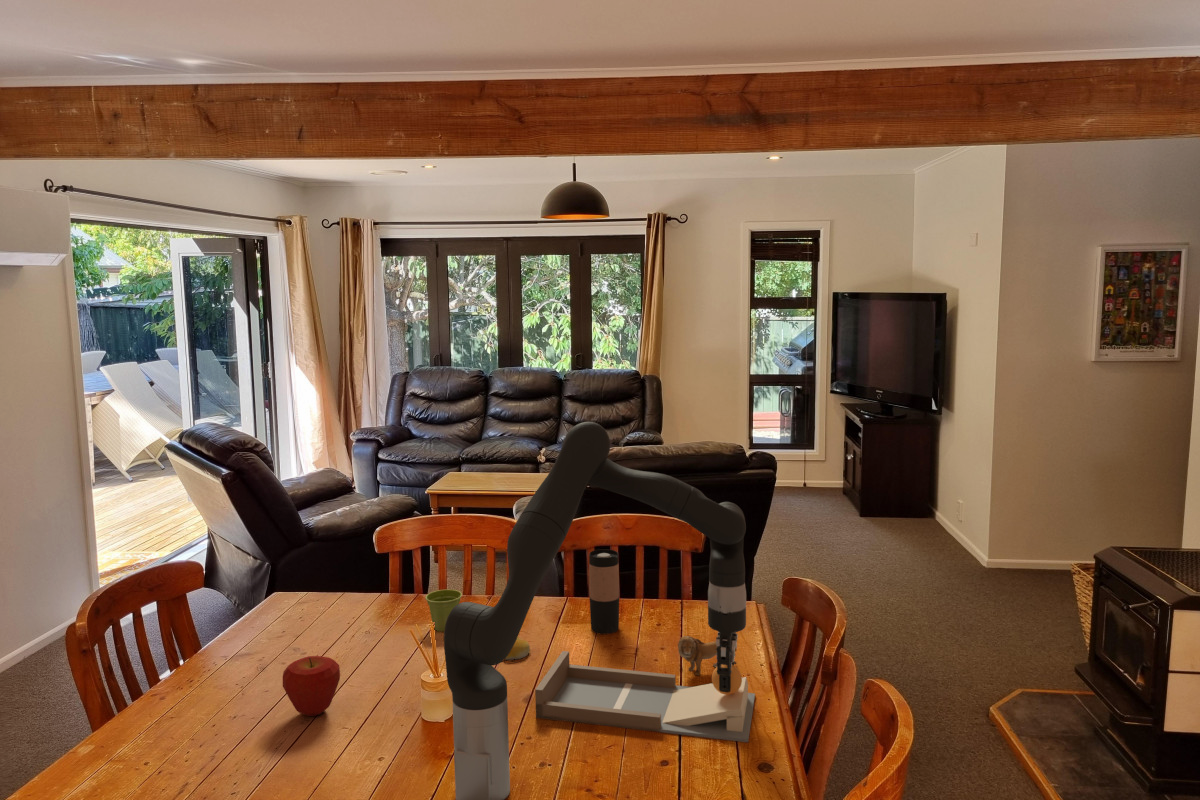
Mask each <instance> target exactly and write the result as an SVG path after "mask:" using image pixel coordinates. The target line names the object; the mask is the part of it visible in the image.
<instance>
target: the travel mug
mask: <svg viewBox="0 0 1200 800" xmlns="http://www.w3.org/2000/svg"><path fill="white" fill-rule="evenodd" d="M588 558H589V559H588V560H589V561H588V563H589V566H588V567H589V568H588V569H589V571H588V572H589V573H588V574H589V575H588V576H589V577H588V578H589V581H588V582H589V587H588V588H589V589H588V590H589V614H590V629H592V630H593V631H594V633H595V632H596V633H595V634H598V633H600V634H601V635H609V634H614V633H616V632H618V631H619V627H620V626H619V625H620V575H619V573H620V570H619V568H620V567H619V565H620V564H619V562H620V561H619V552H618V551H616V550H614V549H611V548H610V549H607V548H604V549H603V548H602V549H595V550H591V551H590V552H589V555H588ZM592 630H591V631H592ZM617 630H618V631H617ZM593 631H592V632H593ZM600 634H599V635H600Z"/></svg>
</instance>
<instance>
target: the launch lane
mask: <svg viewBox="0 0 1200 800" xmlns="http://www.w3.org/2000/svg"><path fill="white" fill-rule="evenodd" d="M676 683H677V682H676V674H672V673H661V672H660V673H659V672H651V671H650V672H649V671H642V670H641V671H640V670H633V669H621V668H620V669H619V668H612V667H611V668H610V667H601V666H600V667H599V666H589V665H579V664H572V663H571V664H570V651H568V650H567V651H566V650H562V651H561V653H560V654H559V655H558V657H557V658H556V660H555V661H554V663H552V666H551V667H550V668H549V669H548V671H547V672H546V674H545V675H544V677H543V678H542V679H541V681H540V683H539V684H538V685H537V686H536V687H535V691H534V692H535V693H534V696H535V719H545V720H552V721H553V720H554V721H561V722H571V723H578V724H579V723H580V724H588V725H595V726H596V725H597V726H604V727H611V728H612V727H615V728H621V729H622V728H623V729H630V730H639V731H646V732H647V731H648V732H656V733H665V734H672V735H680V736H681V735H682V736H690V737H691V736H692V737H698V738H709V739H715V740H725V741H733V742H741V743H749V739H750V732H751V726H752V718H753V712H754V705H755V700H756V698H755V697H756V693H754V692H749V682H748V678H747V677H746V676H744V677H743V676H742V683H741V686H740V688H739V690H738V691H737V692H735V693H733V694H730V695H725V694H722V693H720V692H718V691H717V690H716V689H715V687H714V685H713V683H706V684H701V685H697V686H686V685H677V684H676Z"/></svg>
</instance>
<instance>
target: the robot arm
mask: <svg viewBox="0 0 1200 800" xmlns="http://www.w3.org/2000/svg"><path fill="white" fill-rule="evenodd" d="M610 450H611V440H610V437H609V434H608V432H607V430H606V429H605V428H604V427H603V426H602V425H600V424H599V423H597V422H594V421H584V422H580V423H577V424H576V425H574V426H573V427H572V428H570V430H569V431H568V432H567V433H566V435H565V438H564V439H563V442H562V445H561V448H560V450H559V453H558V455H557V458H556V459H555V461H554V464H553V466H552V467H551V469H550V471H549V473H548V474H547V476H546V477H545V478H544V480H543V481H542V483H541V484H540V485H539V486H538V488H537V490H536V491H535V493H534V494H533V496H532V497H531V498H530V500H529V501H528V504H527V505H526V506H525V507H524V509H523V510H522V512H521V514H520V515H519V517H518V519H517V521H516V523H514V526H513V527H512V529H511V531H510V534H509V536H508V539H507V545H506V546H507V547H506V548H507V549H506V551H507V555H506V556H507V565H508V566H507V567H508V579H507V583H506V585H505V588H504V591H503V592H502V594H501V596H500V598H499V600H498V602H497V603H496V604H495V605H494V606H491V605H486V604H482V603H477V602H472V601H464V602H459V604H458V605H456V606H455V607H454V608H453V609H452V610H451V612H450V614H449V616H448V618H447V621H446V624H445V630H444V631H443V647H444V648H443V649H444V658H445V670H446V680H447V685H448V687H449V690H450V691H451V694H452V695H451V696H452V723H453V747H454V749H453V750H454V752H453V753H454V754H453V760H454V761H453V762H454V785H455V787H454V789H455V800H505V799H507V798H508V796H509V795H510V792H511V783H510V782H511V776H510V748H509V747H510V746H509V745H510V742H509V741H510V740H509V718H508V717H509V715H508V714H509V709H508V708H509V707H508V706H509V705H508V703H509V702H508V683H507V680H506V677H505V676H504V675H503V674H502V673H501V672H499V670H497V669H496V668H495V667H494V666H497V665H499V664H501V663H503V661H504V659H505V658H506V657H507V656H508V654H509V653H510V651H511V649H512V648H513V646H514V644H515V642H516V639H517V637H519V635H520V632H521V630H522V627H523V626H524V622H525V620H526V617H527V615H528V612H529V611H530V608H531V605H532V603H533V601H534V598H535V597H536V594H537V592H538V590H539V587H540V586H541V583H542V581H543V580H544V578H545V575H546V574H547V572H548V570H549V568H550V566H551V564H552V563H553V561H554V559H555V557H556V555H557V554H558V552H559V550H560V548H561V547H562V545H563V543H564V541H565V539H566V536H567V534H568V532H569V531H570V528H571V525H572V523H573V522H574V521H573V520H574V519H575V515H576V513H577V511H578V508H579V505H580V501H581V499H582V496H583V494H584V491H585V489H586V487H587V485H590V486H593V487H597V488H600V489H604V490H606V491H609V492H611V493H612V492H613V493H615V494H619V495H621V496H625V497H628V498H630V499H633V500H636V501H638V502H641V503H644V504H646V505H649V506H651V507H653V508H655V509H656V510H659V511H661V512H663V513H666V514H667V515H669V516H672V517H674V518H675V519H678V520H679V521H682V522H684V523H687V524H688V525H690V526H691V527H692V528H694V529H695V530H696V531H698V532H699V533H701V534H703V535H704V536H706V537H707V538H708V539H709V546H710V555H709V566H708V568H709V569H708V571H709V572H708V573H709V577H708V578H709V579H708V583H709V584H708V589H707V625H708V627H710V629H711V630H712V631H713V630H714V631H716V632H717V636H716V639H715V641H716V645H717V649H716V650H717V656H716V663H717V675H719V690H720V691H721V692H730V690H731V673H732V670H731V665H734V666H735V664H734V661H735V657H736V652H737V648H738V637H739V636H738V635H739V634H738V632H741V631H743V630H745V628H746V626H747V588H746V564H745V556H744V541H745V540H744V538H745V535H746V530H747V524H746V517H745V514H744V511H743V510H742V509H741V507H740V506H739V505H737V504H736V503H734V502H730V501H723V502H720V503H718V502H716V501H713V500H712V499H710V498H708V497H707V496H706V495H705V494H704V493H703V492H702V491H701V490H699V489H698V488H696V487H695V486H692V485H690V484H688V483H686V482H684V481H682V480H680V479H677V478H676V477H673V476H671V475H668V474H665V473H659V472H654V471H645V470H644V471H643V470H639V469H632V468H628V467H626V466H623V465H621V464H618V463H616V462H614V461H613V460H611V459H610V458H608V456H609V454H610ZM722 665H727V668H722V667H721V666H722Z"/></svg>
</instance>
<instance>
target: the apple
mask: <svg viewBox="0 0 1200 800" xmlns="http://www.w3.org/2000/svg"><path fill="white" fill-rule="evenodd" d="M340 679H341V669H340V664H339V663H338V662H337V661H336V660H334V659H333V658H331V657H328V656H323V655H322V656H321V655H309V656H306V657H302V658H299V659H297V660H295V661H291V663H289V665H288V666H287V667H286V668H285V669H284V670H283V672H282V687H283V689H284V691H285V693H286V696H287V697H288V699H289V701H290V703H291V704H292V705H293V707H294V708H295V710H296V711H297V712H298V713H300V714H301V715H303V716H306V717H317V716H319V715H321V714H322V713H324V712H325V711H326V710H327V709H328V708H330V706H331V704H332V702H333V699H334V696H335V693H336V691H337V688H338V685H339V682H340Z"/></svg>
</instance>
